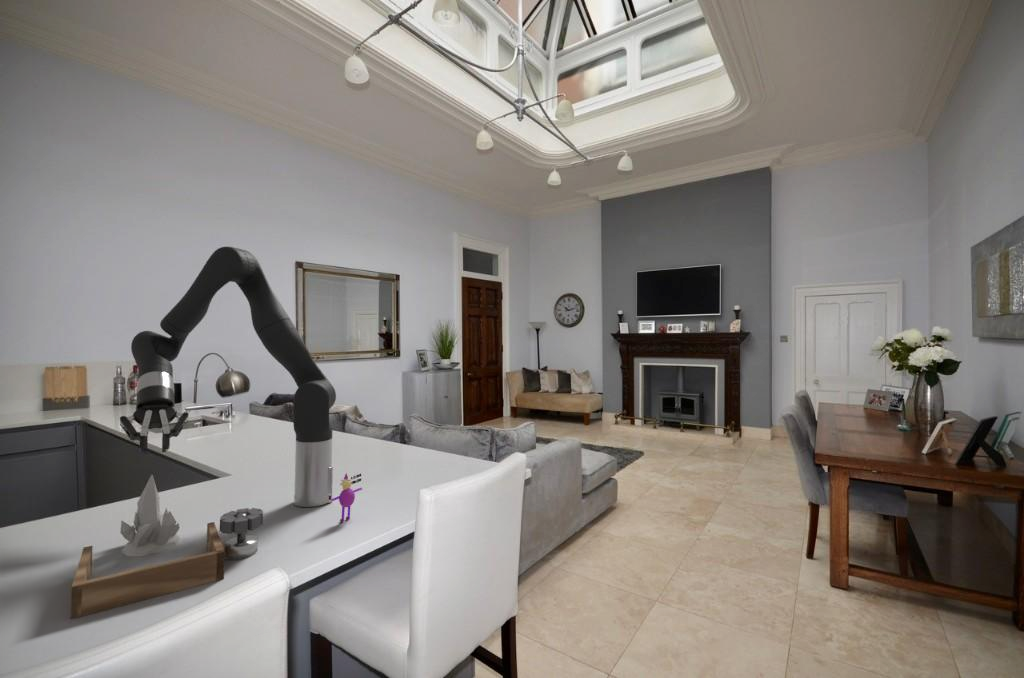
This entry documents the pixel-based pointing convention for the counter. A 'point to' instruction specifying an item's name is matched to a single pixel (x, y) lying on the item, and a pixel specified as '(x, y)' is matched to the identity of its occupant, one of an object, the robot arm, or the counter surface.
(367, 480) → the counter surface
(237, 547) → the axle mount
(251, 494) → the counter surface
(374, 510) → the counter surface
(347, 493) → the wizard figurine
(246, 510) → the wheel
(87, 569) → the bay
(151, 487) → the crystal
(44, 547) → the counter surface
